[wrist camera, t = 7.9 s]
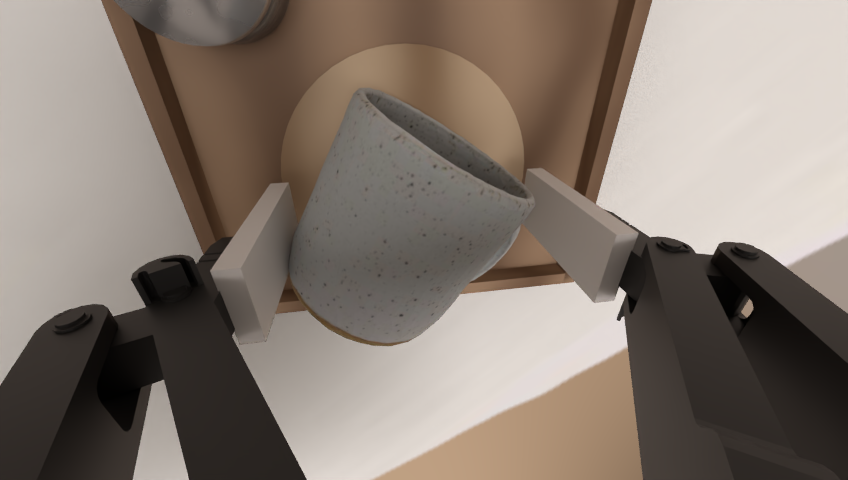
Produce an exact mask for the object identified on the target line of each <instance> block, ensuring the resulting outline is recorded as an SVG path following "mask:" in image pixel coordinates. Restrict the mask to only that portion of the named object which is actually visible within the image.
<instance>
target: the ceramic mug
mask: <svg viewBox="0 0 848 480" xmlns="http://www.w3.org/2000/svg"><path fill="white" fill-rule="evenodd" d="M534 207H535V199H534V197H533V195H532V193H531V192H530V191H529V190H528V188H527V187H526V186H525V185H524V184H523V183H522V182H520V181H519V180H518V179H517V178H516V177H515V176H514V175H512V174H511V173H510V172H508V171H507V170H506V169H505V168H504V167H502V166H501V165H500V164H499V163H497V162H496V161H494V160H493V159H492V158H490V157H489V156H488V155H487V154H486V153H484V152H482V151H481V150H479V149H478V148H477V147H475V146H474V145H473V144H471V143H470V142H468V141H467V140H466V139H464V138H463V137H461V136H459V135H457V134H456V133H454V132H453V131H451V130H449V129H448V128H447V127H445V126H444V125H443V124H441V123H439V122H438V121H436V120H434V119H433V118H431V117H429V116H427V115H426V114H424V113H422V112H421V111H420V110H418V109H415V108H413V107H412V106H411V105H409V104H406V103H404V102H402V101H400V100H399V99H397V98H395V97H393V96H391V95H388V94H386V93H384V92H382V91H380V90H374V89H371V88H359V89H358V90H357V91H356V92H355V93H354V94H353V96H352V98H351V100H350V103H349V105H348V107H347V110H346V112H345V115H344V118H343V120H342V123H341V125H340V127H339V130H338V132H337V134H336V136H335V139H334V141H333V143H332V146H331V148H330V150H329V153H328V155H327V157H326V160H325V162H324V164H323V167H322V169H321V171H320V174H319V177H318V179H317V182H316V184H315V187H314V189H313V192H312V194H311V196H310V198H309V201H308V203H307V205H306V208H305V210H304V212H303V215H302V217H301V219H300V222H299V224H298V226H297V228H296V231H295V233H294V237H293V242H292V247H291V251H290V255H289V277H290V281H291V284H292V287H293V290H294V292H295V294H296V295H297V297H298V299H299V300H300V302H301V304H302V305H303V306H304V307H305V308H306V309H307V310H308V311H309V313H310V314H311V315H312V316H314V317H315V318H316V319H317V320H318V321H319V322H321V323H322V324H323V325H324V326H325V327H327V328H328V329H330V330H331V331H333V332H335V333H337V334H339V335H341V336H343V337H345V338H347V339H350V340H353V341H356V342H359V343H364V344H368V345H374V346H393V345H397V344H400V343H404V342H408V341H410V340H412V339H413V338H415V337H417V336H419V335H420V334H421V333H423V332H424V331H425V330H426V329H428V328H429V327H430V326H431V325H432V324H434V323H435V322H436V321H437V320H438V319H439V318H440V317H441V316H442V315H443V314H444V313H445V312H446V310H447V309H448V308H449V307H450V306H451V305H452V303H453V302H454V301H455V300H456V298H457V297H458V296H459V294H460V293H461V292H462V290H463V289H464V288H465V287H466V286H467V285H468V284H469V282H471V281H473V280H475V279H477V278H478V277H480V276H481V275H483V274H484V273H485V272H487V271H488V270H489V269H491V268H492V267H493V266H494V265H495V264H496V263H497V262H498V261H499V260H500V259H501V258H502V257H503V256H504V255H505V254H506V253H507V251H508V250H509V249H510V247H511V246H512V244H513V243H514V241H515V239H516V238H517V236H518V233H519V231H520V227H521V224H522V223H523V221H524V220H525V219H526V218H527V217H528V215H529V214H530V213H531V211H532V210H533V208H534Z"/></svg>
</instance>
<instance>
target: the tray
mask: <svg viewBox="0 0 848 480" xmlns="http://www.w3.org/2000/svg"><path fill="white" fill-rule="evenodd" d="M101 1H102V3H103V6H104V8H105V11H106V13H107V16H108V18H109V21H110V23H111V26H112V28H113V31H114V33H115V36H116V38H117V41H118V43H119V46H120V48H121V50H122V53H123V55H124V58H125V60H126V63H127V65H128V68H129V70H130V73H131V75H132V78H133V80H134V83H135V85H136V88H137V90H138V93H139V95H140V98H141V100H142V103H143V105H144V108H145V110H146V112H147V115H148V117H149V120H150V122H151V125H152V127H153V130H154V132H155V135H156V137H157V140H158V142H159V145H160V147H161V150H162V152H163V155H164V157H165V160H166V162H167V165H168V167H169V170H170V172H171V174H172V177H173V179H174V182H175V184H176V187H177V189H178V192H179V194H180V197H181V199H182V202H183V204H184V207H185V209H186V212H187V214H188V217H189V219H190V222H191V224H192V227H193V229H194V232H195V234H196V236H197V239H198V241H199V244H200V246H201V249H202V251H203V254H204V253H205V252H206V251H207V249H208V248H209V247H210V246H211V245H212V244H213V243H215V242H216V241H218V240H220V239H221V238H223V237H234V235H235V234H236V233H237V231H238V230H239V228H240V227H241V225H242V224H243V222H244V221H245V220H246V218H247V217H248V215H249V214H250V212H251V211H252V209H253V208H254V207H255V205H256V204H257V202H258V201H259V199H260V198H261V196H262V195H263V194H264V192H265V191H266V189H267V188H268V186H269V185H270V184H271V183H288V182H289V186H290V191H291V195H292V200H293V204H294V209H295V213H296V218H297V222H298V224H299V222H300V219H301V217H302V215H303V212H304V210H305V208H306V205H307V203H308V201H309V198H310V196H311V194H312V192H313V189H314V187H315V184H316V182H317V179H318V177H319V174H320V171H321V169H322V167H323V164H324V162H325V160H326V157H327V155H328V153H329V150H330V148H331V146H332V143H333V141H334V139H335V136H336V134H337V132H338V130H339V127H340V125H341V123H342V120H343V118H344V115H345V112H346V110H347V107H348V105H349V103H350V100H351V98H352V96H353V94H354V93H355V92H356V91H357V90H358V89H359V88H371V89H374V90H380V91H382V92H384V93H386V94H388V95H391V96H393V97H395V98H397V99H399V100H400V101H402V102H404V103H406V104H409V105H411V106H412V107H413V108H415V109H418V110H420V111H421V112H422V113H424V114H426V115H427V116H429V117H431V118H433V119H434V120H436V121H438V122H439V123H441V124H443V125H444V126H445V127H447V128H448V129H449V130H451V131H453V132H454V133H456V134H457V135H459V136H461V137H463V138H464V139H466V140H467V141H468V142H470V143H471V144H473V145H474V146H475V147H477V148H478V149H479V150H481V151H482V152H484V153H486V154H487V155H488V156H489V157H490V158H492V159H493V160H494V161H496V162H497V163H499V164H500V165H501V166H502V167H504V168H505V169H506V170H507V171H508V172H510V173H511V174H512V175H514V176H515V177H516V178H517V179H518V180H519V181H520V182H522V183H523V184H524V185H525V178H526V172H527V169H533V168H543V169H544V170H546V171H547V172H549V173H550V174H552V175H553V176H554V177H556V178H557V179H559V180H560V181H562V182H563V183H565V184H566V185H568V186H569V187H571V188H572V189H574V190H575V191H577V192H578V193H580V194H581V195H583V196H584V197H586V198H587V199H589V200H590V201H592V202H593V203H595V204H596V201H597V197H598V193H599V190H600V186H601V183H602V179H603V175H604V172H605V168H606V165H607V161H608V157H609V154H610V150H611V147H612V143H613V139H614V136H615V132H616V129H617V125H618V121H619V118H620V114H621V111H622V107H623V103H624V100H625V96H626V93H627V89H628V85H629V82H630V78H631V75H632V71H633V68H634V64H635V60H636V57H637V53H638V50H639V46H640V42H641V39H642V35H643V32H644V28H645V24H646V21H647V17H648V14H649V10H650V6H651V3H652V0H289V4H288V8H287V11H286V13H285V16H284V18H283V20H282V21H281V23H280V25H279V26H278V27H277V28H276V29H275V30H274V31H273V32H272V33H271V34H270V35H269V36H267V37H265V38H264V39H262V40H259V41H257V42H253V43H249V44H227V45H222V46H193V45H188V44H183V43H179V42H176V41H173V40H170V39H168V38H165V37H163V36H161V35H159V34H157V33H155V32H153V31H151V30H150V29H148V28H146V27H145V26H143V25H142V24H140V23H139V22H138V21H136V20H135V19H133V18H132V17H131V16H130V15H129V14H127V13H126V12H125V11H124V10H123V9H122V8H120V7H119V5H118V4H117V3H116V2H115V1H114V0H101ZM569 282H574V280H573V279H572V278H571V277H570V276H569V275H568V273H567V272H566V271H565V270H564V269H563V268H562V267H561V266H560V265H559V263H558V262H557V261H556V260H555V259H554V258H553V257H552V256H551V255H550V254H549V252H548V251H547V250H546V249H545V248H544V247H543V246H542V245H541V244H540V243H539V241H538V240H537V239H536V238H535V237H534V236H533V235H532V234H531V233H530V231H529V230H528V229H527V228H526V227H525V226H524V225H523V224H521V227H520V231H519V233H518V236H517V238H516V239H515V241H514V243H513V244H512V246H511V247H510V249H509V250H508V251H507V253H506V254H505V255H504V256H503V257H502V258H501V259H500V260H499V261H498V262H497V263H496V264H495V265H494V266H493V267H492V268H491V269H489V270H488V271H487V272H485V273H484V274H483V275H481V276H480V277H478V278H477V279H475V280H473V281H471V282H469V284H468V285H467V286H466V287H465V288H464V289H463V290H462V292H461V293H460V294H466V293H475V292H485V291H494V290H503V289H513V288H522V287H532V286H541V285H551V284H560V283H569ZM305 310H307V309H306V308H305V307H304V306H303V305H302V304H301V302H300V300H299V299H298V297H297V295H296V294H295V292H294V290H293V287H292V284H291V281H290V277H289V274H288V277H287V280H286V283H285V286H284V289H283V292H282V295H281V298H280V301H279V304H278V307H277V310H276V313H275V314H277V313H287V312H296V311H305Z"/></svg>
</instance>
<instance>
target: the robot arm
mask: <svg viewBox="0 0 848 480" xmlns="http://www.w3.org/2000/svg"><path fill="white" fill-rule="evenodd" d="M525 186H526V187H527V188H528V190H529V191H530V192H531V193H532V195H533V197H534V199H535V207H534V208H533V210H532V211H531V213H530V214H529V215H528V217H527V218H526V219H525V220H524V221H523V223H522V224H523V225H524V226H525V227H526V228H527V229H528V230H529V231H530V233H531V234H532V235H533V236H534V237H535V238H536V239H537V240H538V241H539V243H540V244H541V245H542V246H543V247H544V248H545V249H546V250H547V251H548V252H549V254H550V255H551V256H552V257H553V258H554V259H555V260H556V261H557V262H558V263H559V265H560V266H561V267H562V268H563V269H564V270H565V271H566V272H567V273H568V275H569V276H570V277H571V278H572V279H573V280H574V281H575V282H576V283H577V284H578V286H579V287H580V288H581V289H582V290H583V291H584V292H585V293H586V294H587V295H588V297H589V298H590V299H591V300H592V301H593V302H594V303H597V302H606V301H614V299H615V296H616V294H617V291H618V288H619V287H621V288H622V289H623V290H624V291H625V292H626V296H625V299H624V301H623V304H622V306H621V309H620V311H619V314H618V317H617V320H618V321H620V320H621V317H623V316H624V317H625V326H626V334H627V343H628V352H629V361H630V369H631V378H632V387H633V396H634V404H635V413H636V422H637V430H638V439H639V448H640V457H641V465H642V474H643V480H848V314H847V313H846V312H845V311H843V310H842V309H841V308H839V307H838V306H836V305H835V304H834V303H833V302H831V301H830V300H829V299H827V298H826V297H825V296H823V295H822V294H821V293H819V292H818V291H817V290H815V289H814V288H812V287H811V286H810V285H809V284H807V283H806V282H805V281H803V280H802V279H801V278H799V277H798V276H797V275H795V274H794V273H793V272H791V271H790V270H789V269H787V268H786V267H785V266H783V265H782V264H781V263H779V262H778V261H777V260H775V259H774V258H773V257H771V256H770V255H769V254H767V253H765V252H763V251H762V250H760V249H757V248H755V247H754V246H752V245H749V244H747V245H746V244H745V243H735V242H723V243H720V244H719V245H718V247H717V249H716V251H715V253H714V255H707V254H696V253H695V251H694V250H693V249H692V248H691V247H690V246H689V245H687V244H685V243H683V242H681V241H678V240H675V239H671V238H667V237H651V238H650V237H649V236H647V235H646V234H644V233H643V232H641V231H639V230H638V229H636V228H635V227H633V226H632V225H629V223H627V222H626V221H624V220H622V219H621V218H620V217H618V216H617V215H615V214H614V213H612V212H609V211H607V210H604V209H602V208H601V207H599V206H598V205H596V204H595V203H593V202H592V201H590V200H589V199H587V198H586V197H584V196H583V195H581V194H580V193H578V192H577V191H575V190H574V189H572V188H571V187H569V186H568V185H566V184H565V183H563V182H562V181H560V180H559V179H557V178H556V177H554V176H553V175H552V174H550V173H549V172H547V171H546V170H544V169H543V168H533V169H527V172H526V178H525ZM297 226H298V222H297V218H296V213H295V209H294V204H293V200H292V195H291V191H290V186H289V182H288V183H271V184H270V185H269V186H268V188H267V189H266V191H265V192H264V194H263V195H262V196H261V198H260V199H259V201H258V202H257V204H256V205H255V207H254V208H253V209H252V211H251V212H250V214H249V215H248V217H247V218H246V220H245V221H244V222H243V224H242V225H241V227H240V228H239V230H238V231H237V233H236V234H235V235H234V237H223V238H221V239H220V240H218V241H216V242H215V243H213V244H212V245H211V246H210V247H209V248H208V249H207V251H206V252H205V253H204V255H203V256H202V257H201V258H200V260H199V262H198V263H197V264H196V263H195V261H194V259H193V258H191V257H190V256H186V255H173V256H168V257H163V258H159V259H157V260H154V261H152V262H149V263H147V264H145V265H144V266H142V267H140V268H139V269H138V270H136V271H135V272H134V273H133V275H132V278H131V280H132V282H133V284H134V286H135V287H136V289H137V291H138V293H139V295H140V296H141V298H142V300H143V302H144V303H145V305H146V307H145V308H142V309H139V310H135V311H132V312H128V313H124V314H121V315H117V316H112V314H111V312H110V311H109V309H108V308H107V307H105V306H104V305H98V304H92V305H86V306H81V307H77V308H74V309H69V310H67V311H64V312H63V313H60V314H58V315H56V316H54V317H53V318H52V319H50V320H49V321H47V322H46V323H44V324H43V325H42V326H41V327H40V328H39V329H38V330H37V331H36V332H35V333H34V335H33V336H32V338H31V339H30V341H29V342H28V344H27V346H26V347H25V349H24V350H23V352H22V353H21V355H20V356H19V358H18V359H17V361H16V362H15V364H14V365H13V367H12V368H11V370H10V372H9V373H8V375H7V376H6V378H5V379H4V381H3V382H2V384H1V385H0V480H133V475H134V470H135V465H136V460H137V455H138V450H139V445H140V440H141V435H142V430H143V425H144V420H145V416H146V411H147V406H148V401H149V396H150V391H151V386H152V383H155V382H158V381H161V380H164V381H165V385H166V389H167V393H168V397H169V401H170V405H171V409H172V413H173V417H174V421H175V425H176V429H177V433H178V437H179V441H180V445H181V449H182V453H183V457H184V461H185V465H186V469H187V473H188V477H189V480H307V479H306V477H305V475H304V473H303V471H302V470H301V468H300V466H299V464H298V462H297V460H296V458H295V456H294V454H293V452H292V450H291V449H290V447H289V445H288V443H287V441H286V439H285V437H284V435H283V433H282V431H281V429H280V428H279V426H278V424H277V422H276V420H275V418H274V416H273V414H272V412H271V410H270V408H269V407H268V405H267V403H266V401H265V399H264V397H263V395H262V393H261V391H260V389H259V388H258V386H257V384H256V382H255V380H254V378H253V376H252V374H251V372H250V370H249V368H248V367H247V365H246V363H245V361H244V359H243V357H242V355H241V353H240V351H239V349H238V347H237V346H236V344H235V342H234V340H233V338H232V335H233V332H235V334H236V337H237V339H238V342H239V344H248V343H257V342H265V341H266V340H267V337H268V334H269V331H270V328H271V325H272V322H273V319H274V316H275V313H276V310H277V307H278V304H279V301H280V298H281V295H282V292H283V289H284V286H285V283H286V280H287V277H288V274H289V255H290V251H291V247H292V242H293V237H294V233H295V231H296V228H297ZM749 298H750V300H751V301H752V303H753V307H754V308H753V311H752V313H751V314H750V316H748V317H747V318H746V317H745V316H744V315H743V314H742V313H741V311H742V309H743V308H744V306H745V305H746V303H747V302H748V300H749Z"/></svg>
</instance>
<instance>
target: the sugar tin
mask: <svg viewBox="0 0 848 480" xmlns="http://www.w3.org/2000/svg"><path fill="white" fill-rule="evenodd" d="M114 1H115V2H116V3H117V4H118V5H119V7H120V8H122V9H123V10H124V11H125V12H126V13H127V14H129V15H130V16H131V17H132V18H133V19H135V20H136V21H138V22H139V23H140V24H142V25H143V26H145V27H146V28H148V29H150V30H151V31H153V32H155V33H157V34H159V35H161V36H163V37H165V38H168V39H170V40H173V41H176V42H179V43H183V44H188V45H193V46H222V45H227V44H249V43H253V42H257V41H259V40H262V39H264V38H265V37H267V36H269V35H270V34H271V33H272V32H273V31H274V30H275V29H276V28H277V27H278V26H279V25H280V23H281V21H282V20H283V18H284V16H285V13H286V11H287V8H288V4H289V0H114Z"/></svg>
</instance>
